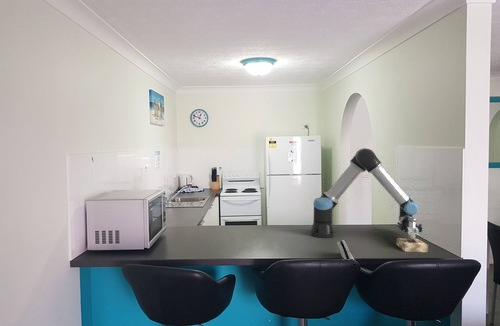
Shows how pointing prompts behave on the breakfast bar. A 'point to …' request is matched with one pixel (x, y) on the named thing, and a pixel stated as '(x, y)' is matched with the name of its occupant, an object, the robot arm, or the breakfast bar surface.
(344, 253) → the hinge
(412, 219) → the pin
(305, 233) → the breakfast bar surface
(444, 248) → the breakfast bar surface
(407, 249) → the socket block
